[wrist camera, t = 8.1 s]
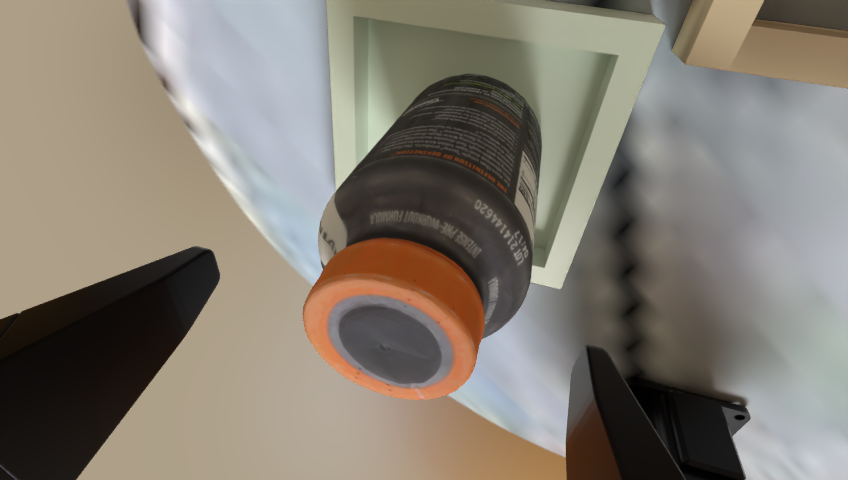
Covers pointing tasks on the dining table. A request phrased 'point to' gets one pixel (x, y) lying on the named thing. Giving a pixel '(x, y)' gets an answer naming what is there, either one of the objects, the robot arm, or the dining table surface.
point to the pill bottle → (429, 241)
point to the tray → (507, 62)
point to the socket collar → (760, 44)
